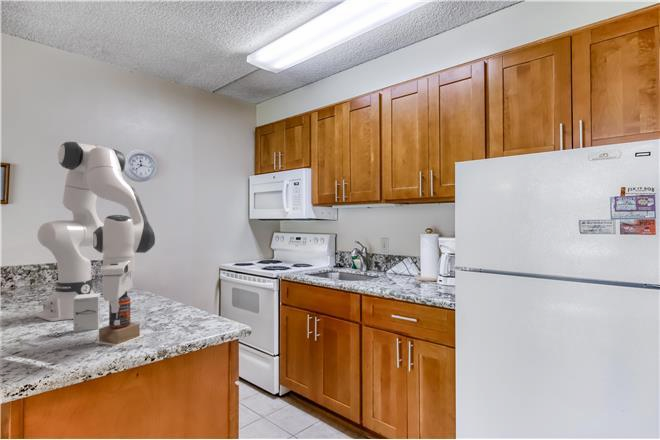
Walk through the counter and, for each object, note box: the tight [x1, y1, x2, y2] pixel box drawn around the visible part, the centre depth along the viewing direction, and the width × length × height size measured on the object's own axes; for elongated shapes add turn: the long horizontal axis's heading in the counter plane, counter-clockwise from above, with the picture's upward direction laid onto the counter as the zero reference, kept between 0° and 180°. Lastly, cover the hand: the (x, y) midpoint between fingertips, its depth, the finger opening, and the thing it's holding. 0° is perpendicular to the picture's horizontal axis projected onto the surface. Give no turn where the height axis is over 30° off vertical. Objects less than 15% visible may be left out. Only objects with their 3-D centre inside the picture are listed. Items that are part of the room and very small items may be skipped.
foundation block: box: [98, 322, 141, 344], centre depth 114 cm, size 8×8×4 cm
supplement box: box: [73, 292, 102, 334], centre depth 126 cm, size 7×7×13 cm
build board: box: [93, 334, 145, 347], centre depth 116 cm, size 18×14×1 cm
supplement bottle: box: [108, 291, 132, 328], centre depth 115 cm, size 6×6×11 cm
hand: (119, 308), depth 114 cm, fingers open, 8 cm apart
